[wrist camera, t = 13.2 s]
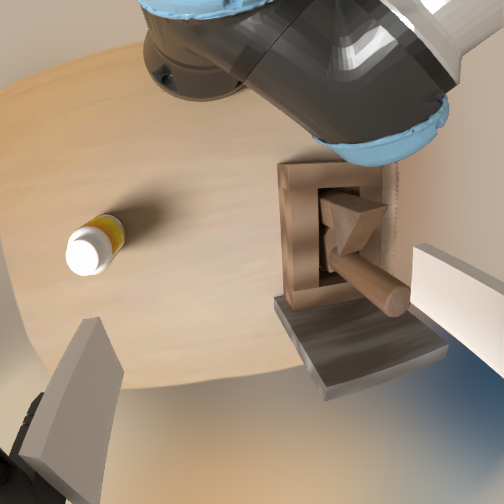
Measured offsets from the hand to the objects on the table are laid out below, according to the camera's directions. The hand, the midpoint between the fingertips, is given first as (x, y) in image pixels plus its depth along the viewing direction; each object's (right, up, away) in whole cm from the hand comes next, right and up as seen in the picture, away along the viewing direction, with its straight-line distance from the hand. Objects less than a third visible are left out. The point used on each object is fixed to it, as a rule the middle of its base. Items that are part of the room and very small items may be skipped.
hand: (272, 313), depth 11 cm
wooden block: (+10, +6, +32) cm, 33 cm away
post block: (+10, +6, +31) cm, 33 cm away
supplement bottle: (-20, +5, +26) cm, 33 cm away
